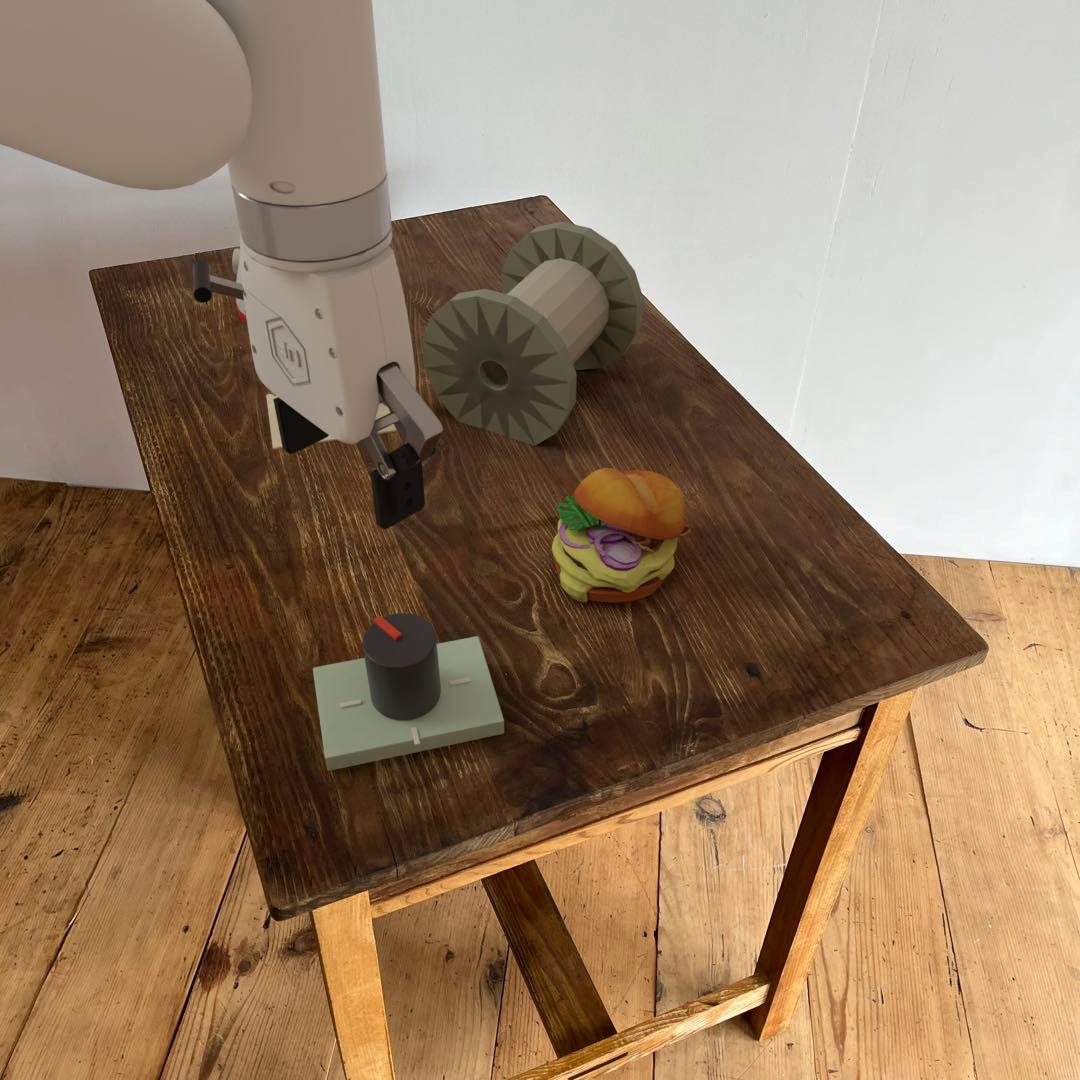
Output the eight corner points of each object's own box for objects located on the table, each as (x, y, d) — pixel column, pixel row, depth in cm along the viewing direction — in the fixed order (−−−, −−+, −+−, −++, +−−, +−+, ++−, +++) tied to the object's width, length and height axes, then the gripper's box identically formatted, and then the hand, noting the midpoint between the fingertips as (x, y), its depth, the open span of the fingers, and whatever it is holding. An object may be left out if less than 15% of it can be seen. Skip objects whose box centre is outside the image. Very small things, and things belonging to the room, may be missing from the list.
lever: (190, 305, 84) (197, 280, 83) (189, 277, 88) (196, 252, 87) (331, 341, 90) (339, 318, 89) (325, 314, 93) (333, 291, 92)
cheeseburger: (518, 571, 83) (538, 464, 78) (600, 534, 90) (624, 434, 85) (611, 633, 78) (639, 523, 73) (691, 589, 85) (722, 486, 80)
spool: (509, 341, 110) (507, 208, 100) (637, 378, 105) (648, 241, 95) (428, 420, 99) (417, 280, 89) (566, 465, 94) (570, 321, 84)
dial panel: (331, 791, 67) (325, 763, 65) (317, 689, 74) (311, 660, 72) (506, 753, 70) (506, 725, 68) (478, 657, 76) (477, 629, 74)
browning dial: (455, 693, 70) (451, 636, 66) (400, 732, 67) (393, 676, 63) (410, 655, 72) (404, 598, 68) (356, 692, 70) (346, 635, 66)
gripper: (161, 179, 53) (224, 441, 65) (355, 299, 44) (389, 580, 56) (283, 143, 57) (322, 396, 69) (485, 247, 48) (491, 519, 60)
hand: (352, 478), depth 62 cm, fingers open, 9 cm apart
